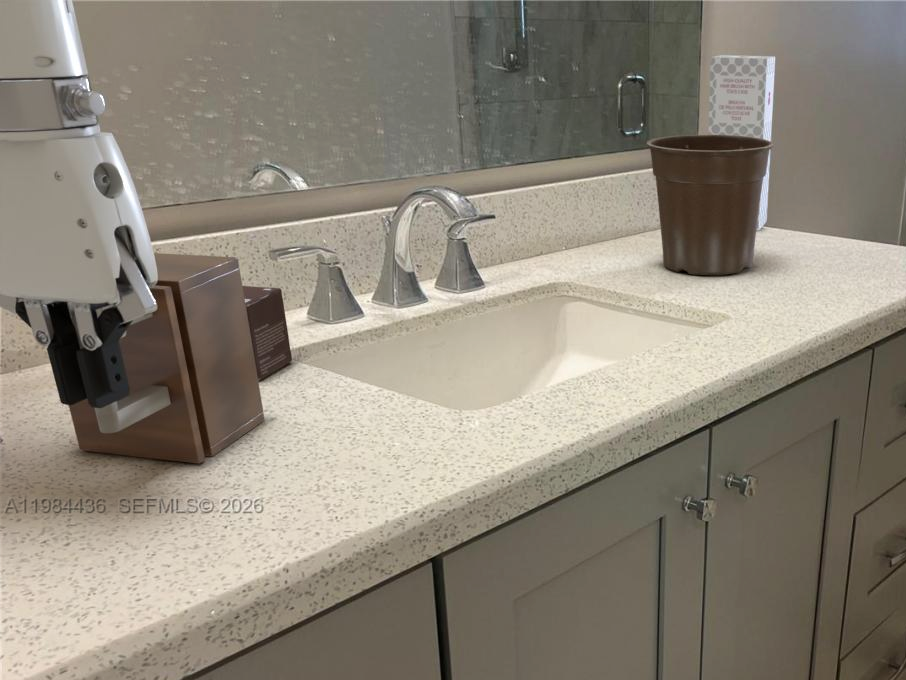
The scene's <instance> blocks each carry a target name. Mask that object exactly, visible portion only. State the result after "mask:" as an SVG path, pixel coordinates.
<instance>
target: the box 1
mask: <svg viewBox="0 0 906 680" xmlns="http://www.w3.org/2000/svg"><path fill="white" fill-rule="evenodd" d="M242 286H243V292H244V298H245V304H246V310H247V316H248V322H249V328H250V334H251V340H252V346H253V352H254V358H255V364H256V370H257V376H258V382H259V381H262V379H264V378H267V376H269V375H270V374H272V373H274V372H275V371H278V370H279V369H280V368H283V367H284V366H286V365H287V364H290V363H291V362H292V361H293V358H292V351H291V345H290V337H289V330H288V323H287V318H286V312H285V311H286V310H285V303H284V298H283V292H282V288H280V287H267V286H266V287H265V286H250V285H242Z"/></svg>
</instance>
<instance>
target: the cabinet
mask: <svg viewBox="0 0 906 680" xmlns="http://www.w3.org/2000/svg"><path fill="white" fill-rule="evenodd" d="M154 257H155V261H156V266H157V274H158V281H157V283H156V284H155V285H156V286H169V287H171V289H172V294H173V299H174V305H175V310H176V315H177V320H178V325H179V330H180V335H181V340H182V345H183V350H184V355H185V360H186V365H187V370H188V375H189V380H190V386H191V391H192V396H193V401H194V406H195V411H196V416H197V421H198V426H199V431H200V436H201V441H202V446H203V451H204V456H205V457H214V456H215V455H217V454H219V453H220V452H221V451H223V450H224V449H226V448H227V447H228V446H230V445H231V444H233V443H235V441H237V440H238V439H240V438H241V437H242V436H244V435H246V434H247V433H248V432H250V431H251V430H253V429H254V428H256V427H257V426H259V425H260V424H261V423H263V422H265V414H264V413H265V412H264V406H263V402H262V395H261V389H260V382H259V381H258V376H257V370H256V364H255V358H254V352H253V346H252V340H251V334H250V328H249V322H248V316H247V310H246V304H245V298H244V292H243V286H244V285H243V281H242V274H241V269H240V262H239V258H238V257H237V256H236V257H233V256H219V255H218V256H215V255H196V254H178V253H161V252H160V253H159V252H154Z"/></svg>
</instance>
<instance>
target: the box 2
mask: <svg viewBox="0 0 906 680" xmlns="http://www.w3.org/2000/svg"><path fill="white" fill-rule="evenodd" d="M709 65H710V67H709V101H708V102H709V103H708V106H709V109H708V134H707V135H735V136H747V137H753V138H760V139H765V140H768V141H771V142H772V129H773V128H772V127H773V109H774V90H775V73H776V72H775V70H776V56H770V55H739V54H737V55H736V54H734V55H733V54H731V55H730V54H720V55H715V56H711V57H710V64H709ZM770 166H771V149H770V150H769V156H768V163H767V170H766V175H765V176H764V177H763V182H762V190H761V198H760V205H759V213H758V221H757V229H756V232H759V231H760V230H761V228H763V226H764V225H765V224H766V223H767V222H768V205H769V204H768V203H769V185H770Z"/></svg>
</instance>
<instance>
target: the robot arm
mask: <svg viewBox="0 0 906 680" xmlns="http://www.w3.org/2000/svg"><path fill="white" fill-rule="evenodd" d="M74 7H75V6H74V3H73V0H0V308H1V309H4V310H6V311H8V312H10V313H13V314H15V315H17V316H18V317H19V318H20V319H21V320H22V321H23V322H24V323H25V324H26V325H27V326H28V327H29V328H30V329H31V331H32V334H33V338H34V340H35V342H36V343H37V344H39V346H41V347H46V352H47V356H48V359H49V363H50V367H51V371H52V374H53V378H54V382H55V385H56V390H57V394H58V398H59V401H60V403H61V404H62V405H66V406H69V405H73V404H76V403H78V402H80V401H83V400H85V399H87V400H88V403H89V405H90V406H91V407H93V408H103V407H105V406H107V405H109V404H111V403H114V402H116V401H118V400H120V399H122V398H125V397H127V396H128V395H129V394H130V387H129V383H128V378H127V374H126V370H125V365H124V361H123V357H122V352H121V348H120V344H119V340H121V339H124V338H125V337H126V330H127V328H128V327H129V325H130V324H131V323H132V321H133V320H135V319H138V318H140V317H143V316H146V315H148V314H151V313H154V312H155V311H157V303H156V301H155V299H154V297H153V295H152V293H151V291H150V289H149V288H150V287H152V286H154V285H155V284H156V283H157V281H158V274H157V266H156V261H155V257H154V253H155V252H154V249H153V245H152V240H151V236H150V234H149V233H150V232H149V228H148V225H147V222H146V218H145V215H144V211H143V208H142V205H141V202H140V198H139V196H138V193H137V189H136V186H135V184H134V180H133V178H132V175H131V173H130V169H129V167H128V165H127V163H126V160H125V158H124V156H123V153H122V150H121V148H120V146H119V145H118V143H117V140H116V137H114V135H113V132H106V131H101V127H100V122H99V116H102V115H103V114H104V113H105V111H106V100H105V98H104V96H103V95H102V94H101V93H100V92H98V91H93V90H92V85H91V80H90V75H88V74H89V70H88V67H87V62H86V58H85V57H86V56H85V52H84V49H83V44H82V39H81V35H80V30H79V25H78V20H77V16H76V12H75V8H74ZM119 293H120V295H121V301H120V296H119ZM52 303H53V305H52ZM100 308H101V314H100V315H99V317H97V312H96V310H97V309H100ZM75 316H76V321H77V326H78V330H79V335H80V340H81V343H82V345H83V346H84V347H85V348H82V349H80V346H79V342H78V338H77V333H76V329H75V325H74V321H73V318H74V317H75Z"/></svg>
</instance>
